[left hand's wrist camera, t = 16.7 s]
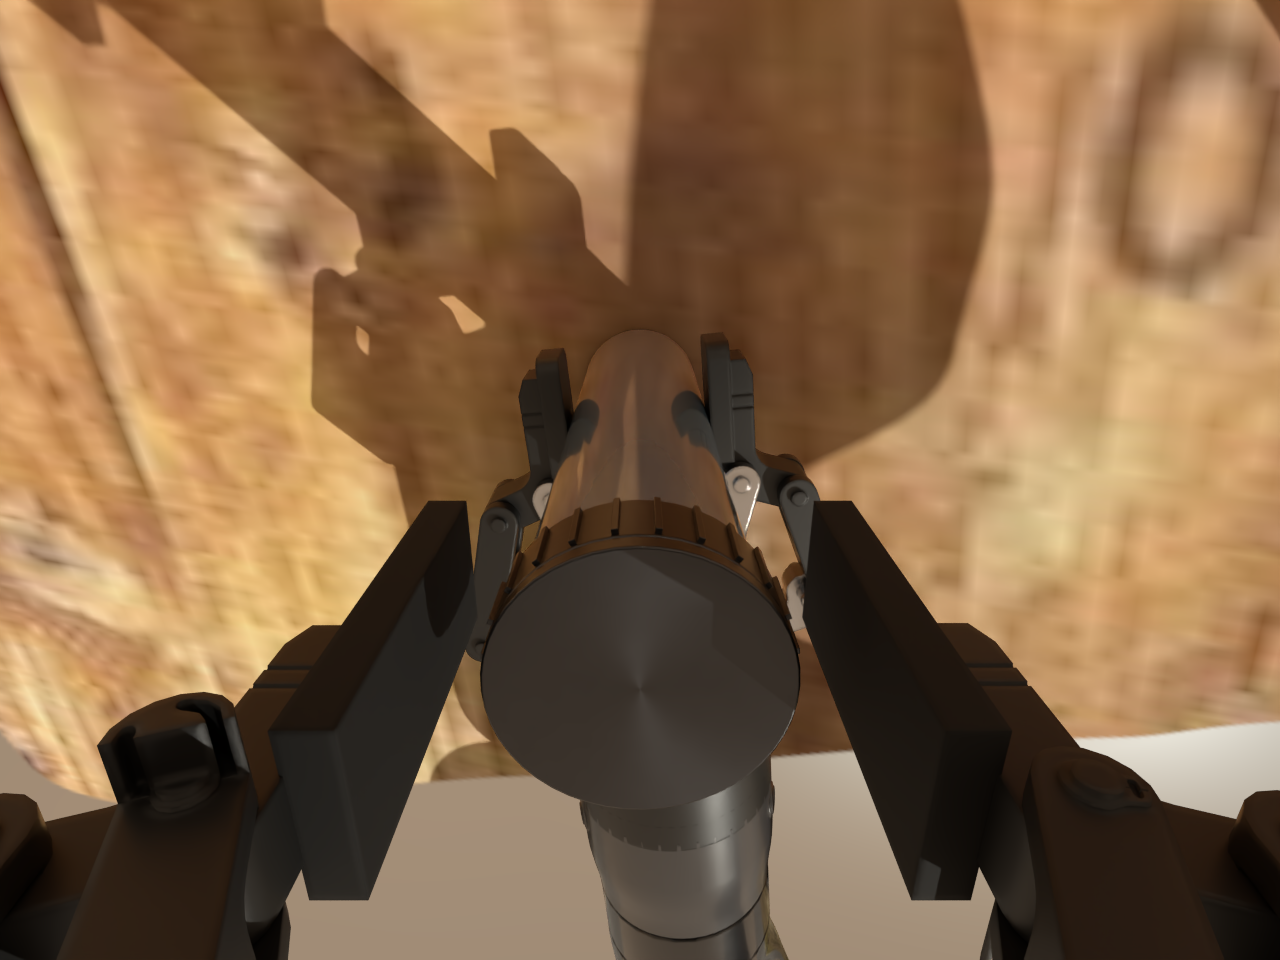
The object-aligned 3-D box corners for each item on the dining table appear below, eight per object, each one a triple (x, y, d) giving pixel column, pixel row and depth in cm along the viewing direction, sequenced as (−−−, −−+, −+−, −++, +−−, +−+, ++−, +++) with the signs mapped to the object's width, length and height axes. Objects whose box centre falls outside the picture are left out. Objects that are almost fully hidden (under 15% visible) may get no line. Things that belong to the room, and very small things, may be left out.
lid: (691, 776, 14) (698, 853, 12) (451, 673, 13) (424, 740, 11) (840, 576, 12) (871, 634, 10) (577, 441, 11) (566, 482, 9)
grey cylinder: (563, 372, 28) (446, 639, 11) (652, 306, 27) (674, 488, 10) (628, 455, 30) (612, 809, 12) (715, 395, 29) (828, 689, 11)
